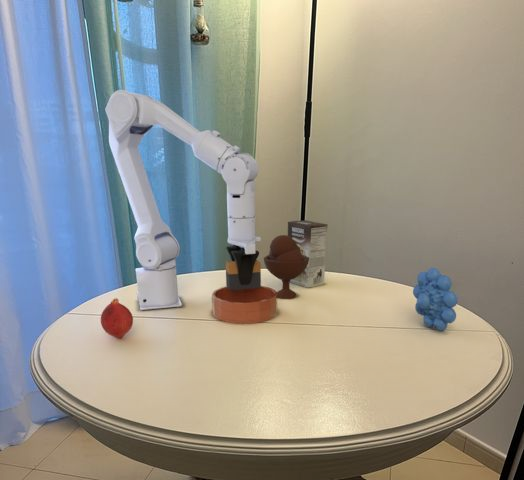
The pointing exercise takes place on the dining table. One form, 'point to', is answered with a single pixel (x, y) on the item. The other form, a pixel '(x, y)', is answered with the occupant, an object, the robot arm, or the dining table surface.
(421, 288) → the grapes
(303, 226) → the coffee box
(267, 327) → the dining table surface
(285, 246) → the ice cream bowl
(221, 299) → the bowl
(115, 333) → the onion
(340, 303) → the dining table surface
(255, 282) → the eraser
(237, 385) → the dining table surface
